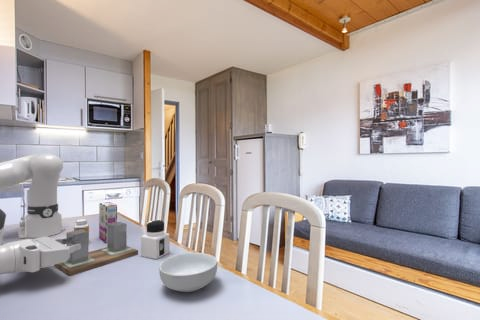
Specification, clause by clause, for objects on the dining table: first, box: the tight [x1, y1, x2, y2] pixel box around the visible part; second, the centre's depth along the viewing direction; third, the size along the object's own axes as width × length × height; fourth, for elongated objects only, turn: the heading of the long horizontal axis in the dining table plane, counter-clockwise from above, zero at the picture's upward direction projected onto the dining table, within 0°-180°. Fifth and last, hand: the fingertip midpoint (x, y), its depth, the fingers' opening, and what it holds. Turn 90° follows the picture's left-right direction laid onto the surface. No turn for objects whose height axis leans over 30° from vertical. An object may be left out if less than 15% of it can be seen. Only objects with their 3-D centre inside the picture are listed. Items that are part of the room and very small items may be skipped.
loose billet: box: [66, 229, 89, 265], centre depth 93 cm, size 5×5×10 cm
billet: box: [106, 221, 128, 253], centre depth 104 cm, size 5×5×10 cm
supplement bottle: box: [73, 218, 90, 243], centre depth 116 cm, size 6×6×10 cm
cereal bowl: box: [158, 252, 218, 293], centre depth 79 cm, size 17×17×7 cm
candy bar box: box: [98, 201, 118, 244], centre depth 122 cm, size 11×5×16 cm, turn 42°
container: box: [140, 219, 171, 260], centre depth 104 cm, size 8×8×13 cm
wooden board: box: [53, 245, 139, 277], centre depth 99 cm, size 13×24×2 cm, turn 143°
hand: (74, 243), depth 92 cm, fingers open, 8 cm apart
